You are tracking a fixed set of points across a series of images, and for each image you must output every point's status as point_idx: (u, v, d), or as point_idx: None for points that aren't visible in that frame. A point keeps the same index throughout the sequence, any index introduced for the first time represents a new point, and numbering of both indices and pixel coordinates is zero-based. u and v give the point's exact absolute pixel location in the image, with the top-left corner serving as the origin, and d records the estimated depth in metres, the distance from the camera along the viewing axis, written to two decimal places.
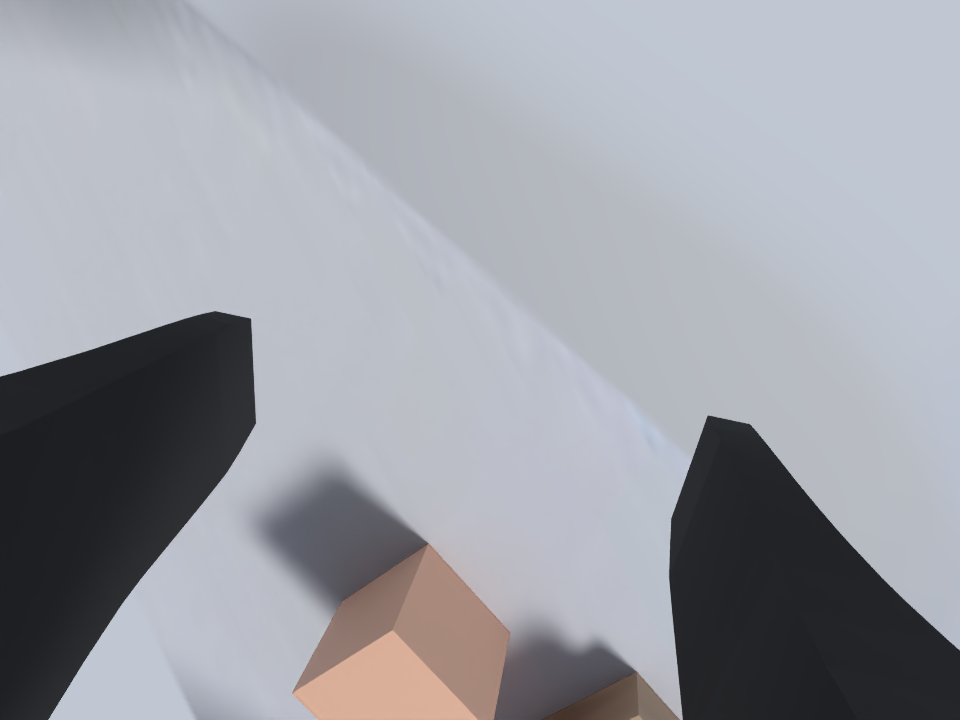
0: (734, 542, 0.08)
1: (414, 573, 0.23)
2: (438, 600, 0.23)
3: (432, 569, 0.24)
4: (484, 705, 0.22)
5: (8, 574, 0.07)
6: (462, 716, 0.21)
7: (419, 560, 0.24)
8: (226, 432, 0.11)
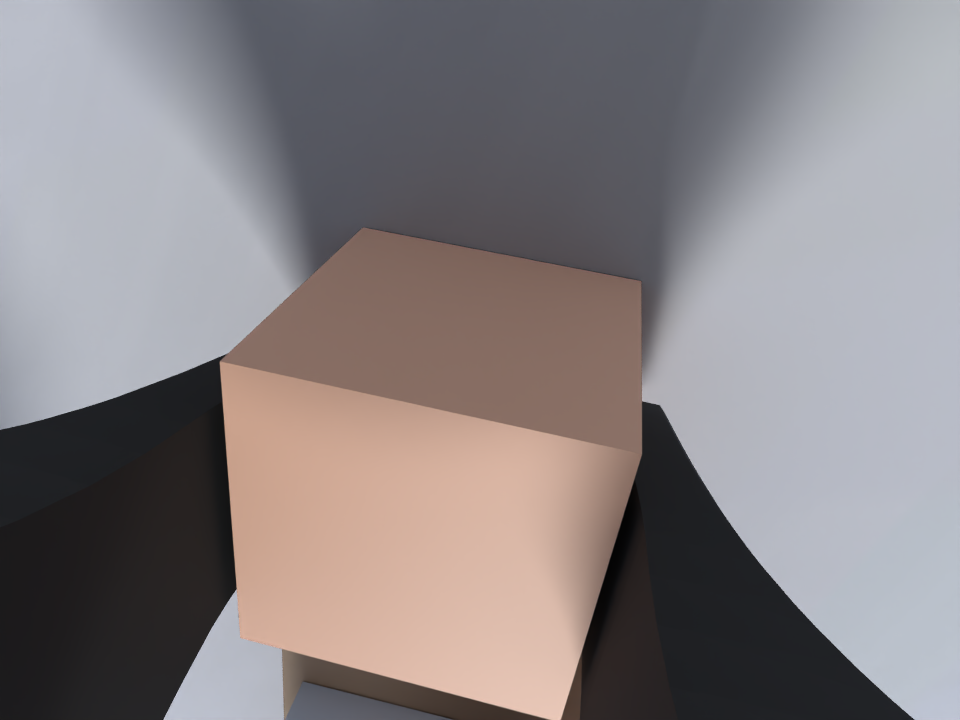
0: None
1: (631, 327, 0.09)
2: None
3: None
4: None
5: (124, 605, 0.07)
6: (546, 669, 0.09)
7: (631, 304, 0.10)
8: None
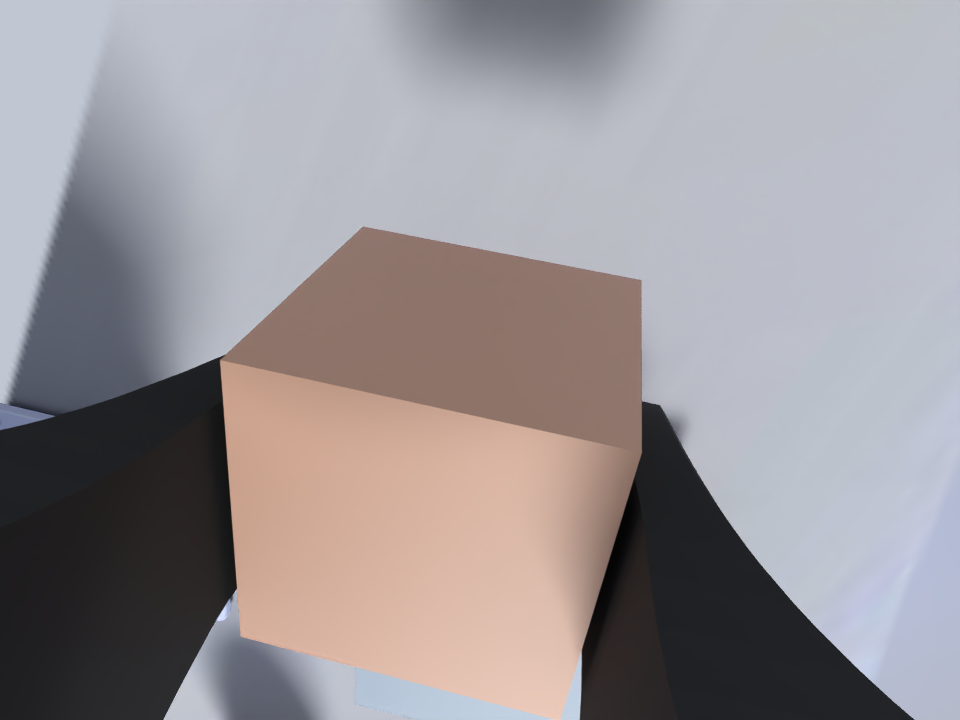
0: (622, 516, 0.08)
1: (631, 326, 0.09)
2: None
3: None
4: None
5: (124, 605, 0.07)
6: (546, 668, 0.09)
7: (631, 303, 0.10)
8: None
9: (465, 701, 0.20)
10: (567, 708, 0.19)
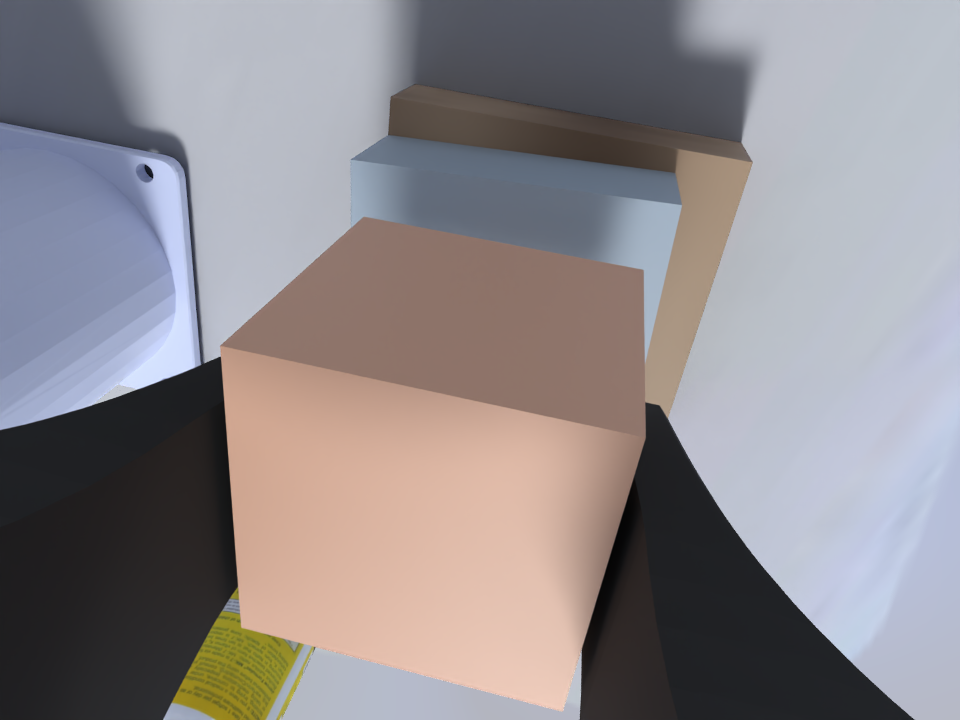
0: (622, 516, 0.08)
1: (633, 314, 0.09)
2: None
3: None
4: None
5: (124, 605, 0.07)
6: (548, 657, 0.09)
7: (633, 293, 0.10)
8: None
9: None
10: None
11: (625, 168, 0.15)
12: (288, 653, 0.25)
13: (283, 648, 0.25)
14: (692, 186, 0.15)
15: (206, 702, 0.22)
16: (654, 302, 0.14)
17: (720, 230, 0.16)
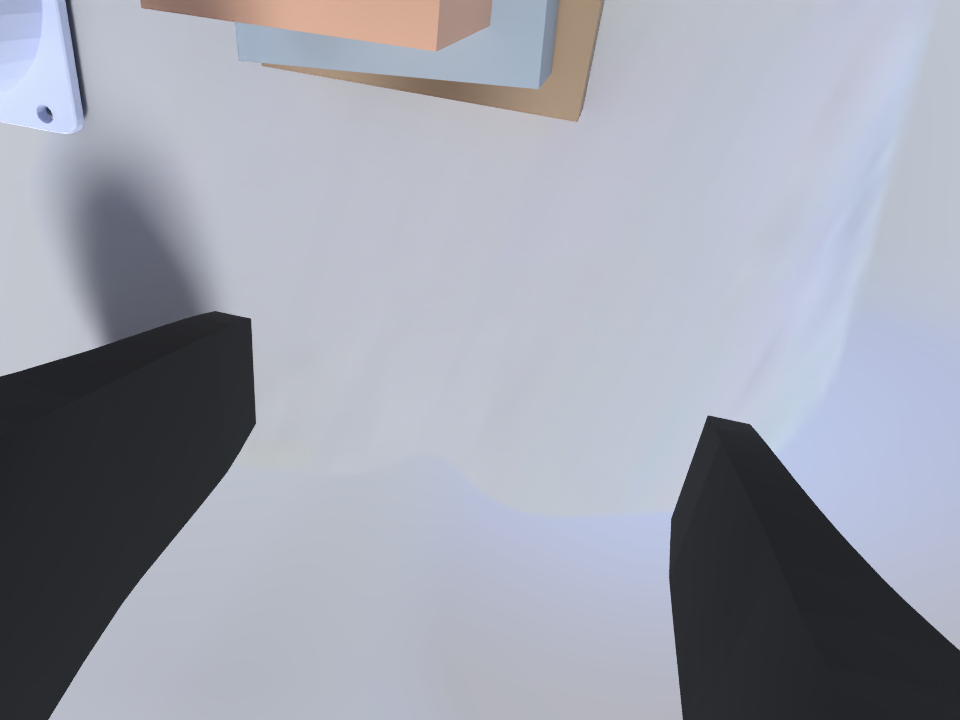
0: (734, 542, 0.08)
1: None
2: None
3: None
4: (449, 10, 0.10)
5: (8, 574, 0.07)
6: None
7: None
8: (226, 432, 0.11)
9: None
10: None
11: None
12: None
13: None
14: None
15: None
16: None
17: None
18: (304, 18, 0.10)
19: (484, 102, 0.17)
